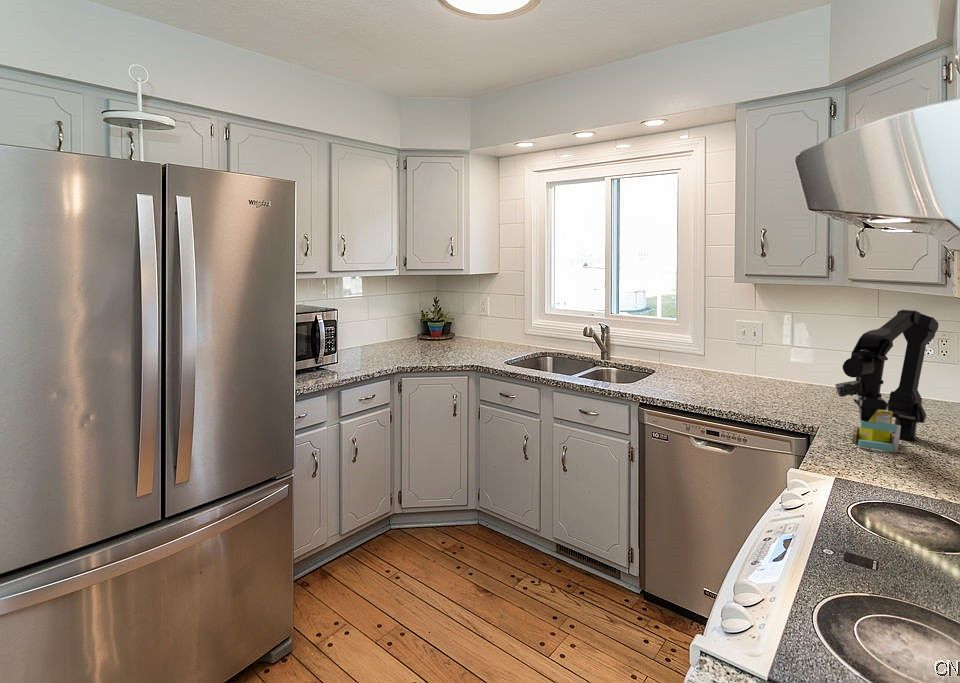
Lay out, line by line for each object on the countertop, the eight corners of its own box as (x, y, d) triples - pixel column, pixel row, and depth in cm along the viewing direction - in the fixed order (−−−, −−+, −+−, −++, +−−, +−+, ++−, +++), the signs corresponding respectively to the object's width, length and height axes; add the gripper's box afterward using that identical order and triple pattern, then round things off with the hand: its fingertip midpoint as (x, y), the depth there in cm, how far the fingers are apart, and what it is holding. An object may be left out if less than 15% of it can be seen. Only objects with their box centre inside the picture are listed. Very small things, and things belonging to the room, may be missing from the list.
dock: (853, 435, 186) (854, 426, 185) (894, 442, 179) (895, 433, 179) (851, 443, 178) (852, 433, 177) (894, 450, 172) (896, 440, 171)
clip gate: (858, 445, 174) (861, 420, 173) (897, 451, 169) (900, 425, 168) (858, 446, 173) (861, 421, 172) (898, 452, 168) (901, 426, 167)
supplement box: (875, 440, 181) (879, 407, 179) (889, 446, 175) (893, 412, 173) (857, 440, 181) (861, 407, 179) (871, 446, 175) (875, 412, 173)
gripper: (834, 366, 182) (827, 413, 185) (846, 377, 165) (838, 429, 168) (875, 370, 178) (867, 418, 181) (891, 382, 161) (883, 435, 163)
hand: (863, 424), depth 173 cm, fingers closed
